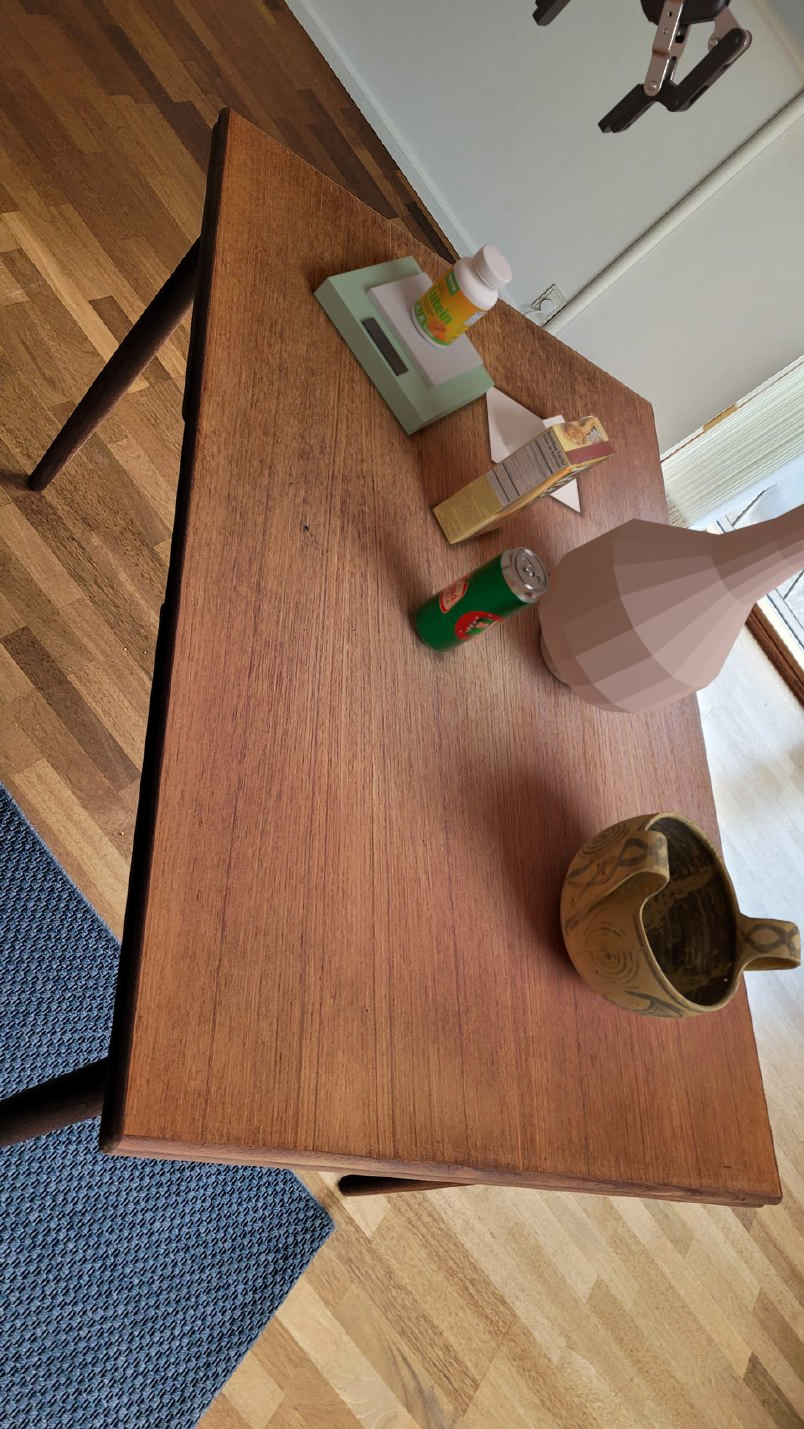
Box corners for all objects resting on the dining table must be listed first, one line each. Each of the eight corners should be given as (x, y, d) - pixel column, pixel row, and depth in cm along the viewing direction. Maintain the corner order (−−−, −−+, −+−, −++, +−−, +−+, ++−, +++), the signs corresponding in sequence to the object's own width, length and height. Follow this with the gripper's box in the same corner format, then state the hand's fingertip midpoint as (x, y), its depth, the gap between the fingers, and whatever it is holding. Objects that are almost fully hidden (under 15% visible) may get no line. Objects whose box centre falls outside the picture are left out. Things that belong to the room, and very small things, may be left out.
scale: (312, 293, 87) (332, 271, 85) (397, 269, 98) (416, 249, 96) (408, 435, 89) (429, 417, 87) (479, 396, 101) (500, 379, 98)
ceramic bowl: (492, 981, 72) (650, 953, 62) (512, 795, 81) (652, 743, 71) (662, 1060, 83) (821, 1047, 72) (662, 887, 92) (803, 854, 82)
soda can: (424, 593, 83) (521, 531, 74) (459, 633, 84) (558, 577, 76) (402, 623, 79) (501, 562, 71) (439, 665, 81) (540, 610, 72)
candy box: (478, 494, 94) (596, 412, 83) (497, 530, 94) (617, 453, 83) (429, 509, 87) (550, 422, 77) (450, 548, 88) (573, 466, 77)
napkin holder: (570, 437, 111) (607, 411, 107) (581, 513, 107) (620, 488, 103) (484, 381, 102) (521, 350, 98) (491, 461, 98) (531, 432, 94)
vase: (585, 582, 102) (847, 439, 81) (633, 731, 98) (921, 620, 78) (482, 571, 90) (760, 399, 69) (533, 739, 86) (843, 611, 65)
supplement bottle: (401, 305, 90) (469, 238, 84) (429, 300, 94) (496, 235, 88) (429, 353, 91) (499, 289, 84) (456, 346, 95) (525, 285, 88)
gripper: (849, -29, 58) (640, 161, 69) (734, -244, 56) (537, -12, 67) (830, -42, 53) (606, 167, 64) (702, -280, 50) (493, -21, 62)
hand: (571, 75), depth 65 cm, fingers open, 8 cm apart
